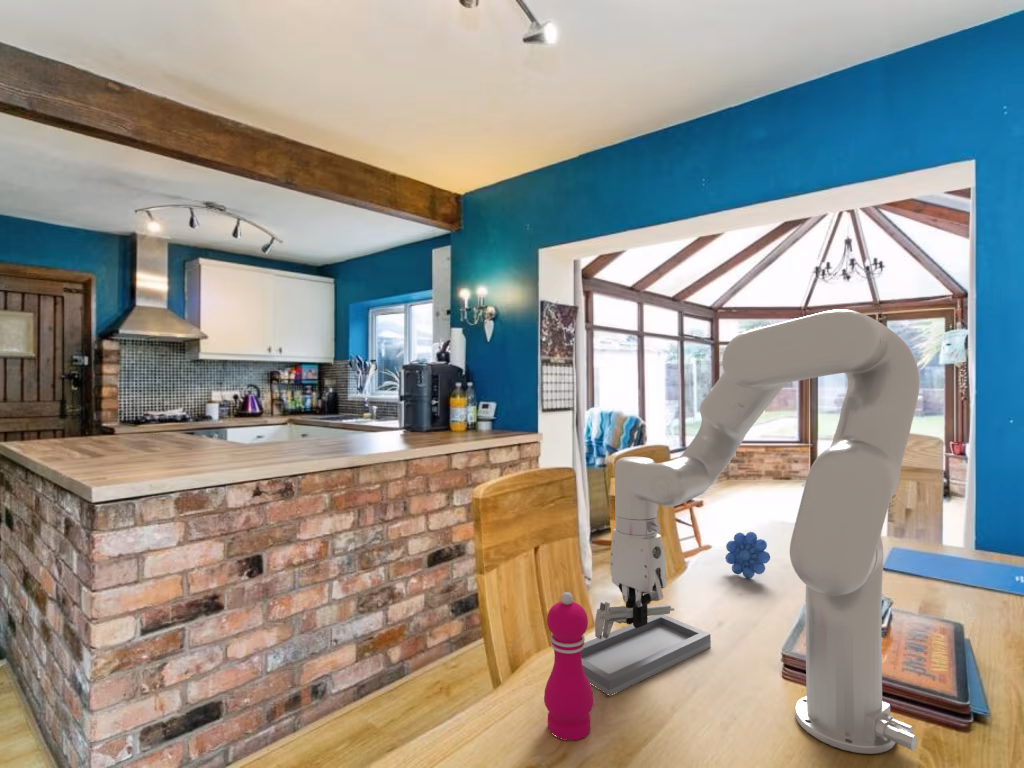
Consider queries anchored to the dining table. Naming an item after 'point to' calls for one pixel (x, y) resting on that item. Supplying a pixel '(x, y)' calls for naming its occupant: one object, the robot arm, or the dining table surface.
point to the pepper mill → (568, 672)
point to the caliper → (621, 616)
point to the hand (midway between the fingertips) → (636, 623)
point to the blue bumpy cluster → (747, 554)
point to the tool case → (640, 652)
